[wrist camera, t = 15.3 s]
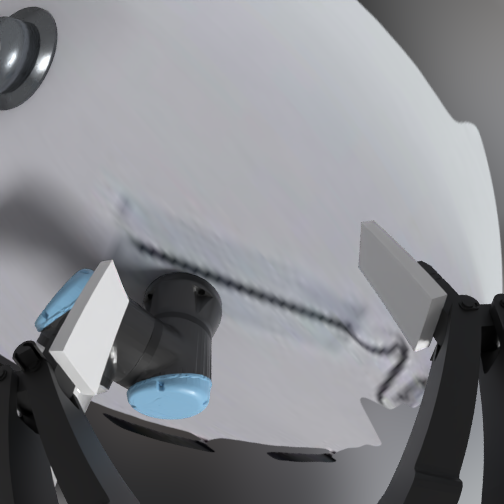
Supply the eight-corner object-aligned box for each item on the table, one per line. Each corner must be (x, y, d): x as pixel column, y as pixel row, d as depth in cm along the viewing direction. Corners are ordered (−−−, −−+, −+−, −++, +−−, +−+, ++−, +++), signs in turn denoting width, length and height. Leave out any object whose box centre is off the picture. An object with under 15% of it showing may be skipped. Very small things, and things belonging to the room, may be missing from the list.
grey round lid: (59, 86, 33) (32, 87, 26) (-14, 124, 32) (-41, 132, 25) (58, -10, 23) (35, -21, 16) (-17, 37, 23) (-42, 36, 16)
